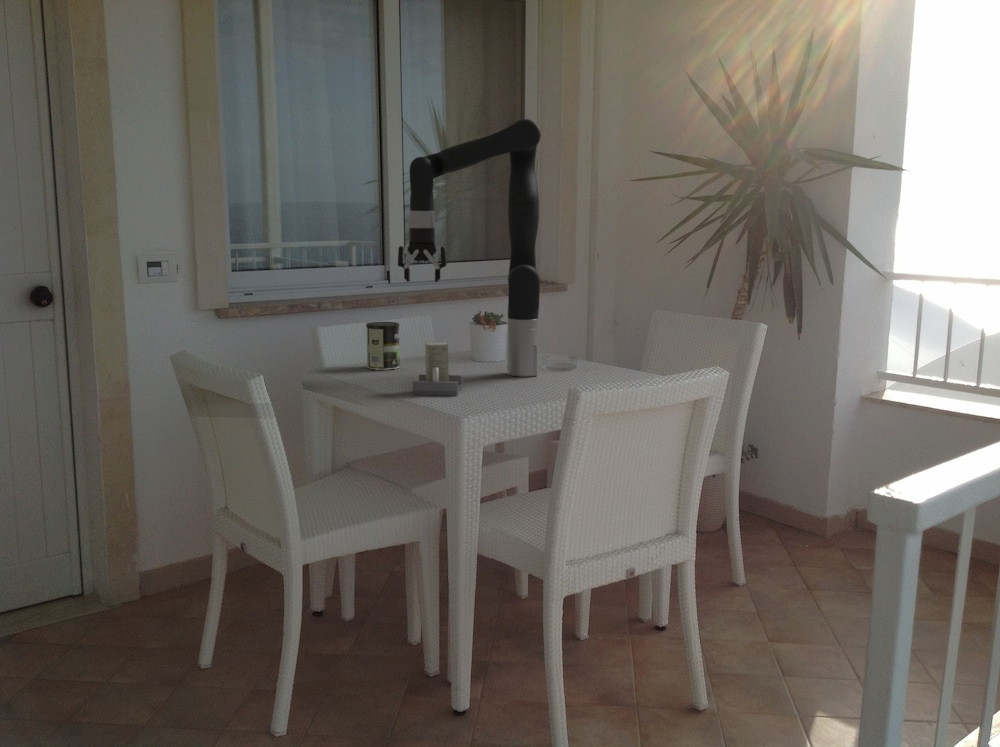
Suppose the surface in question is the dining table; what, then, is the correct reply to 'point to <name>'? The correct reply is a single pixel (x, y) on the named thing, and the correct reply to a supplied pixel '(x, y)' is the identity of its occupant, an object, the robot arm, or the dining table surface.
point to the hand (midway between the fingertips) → (422, 281)
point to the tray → (437, 385)
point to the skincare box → (437, 360)
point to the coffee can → (382, 345)
